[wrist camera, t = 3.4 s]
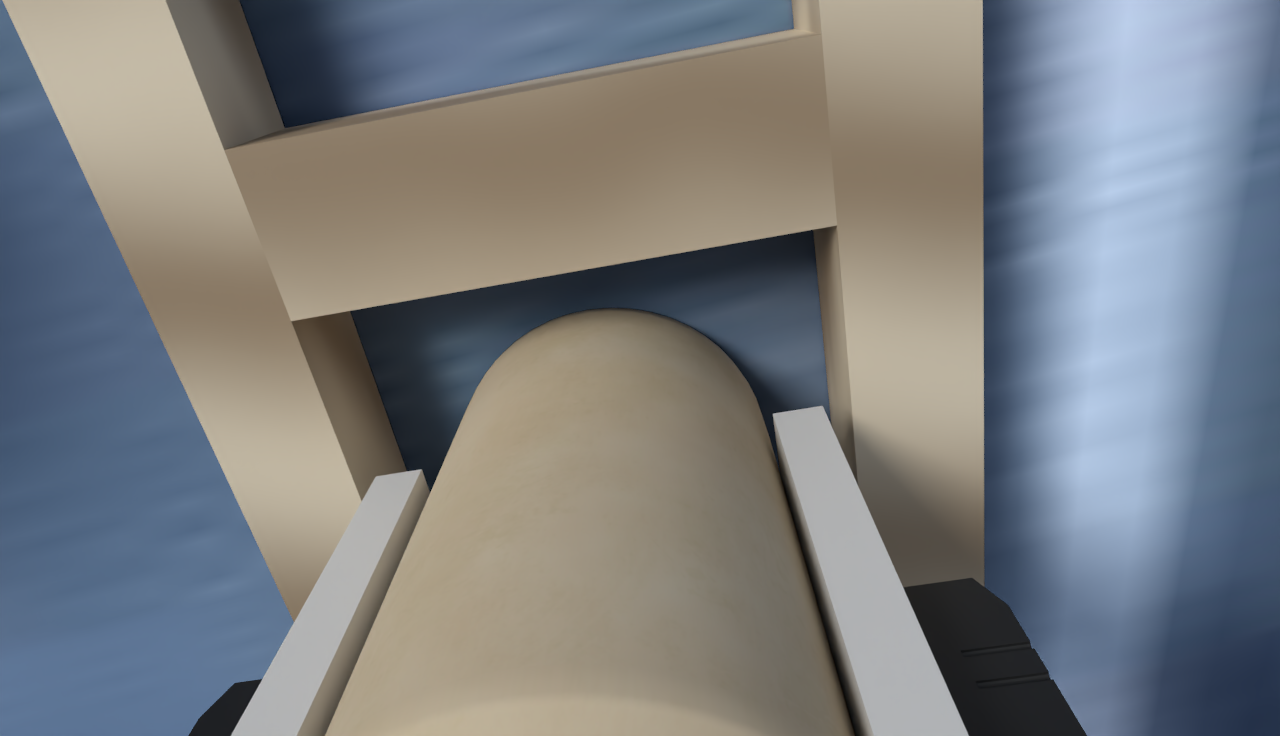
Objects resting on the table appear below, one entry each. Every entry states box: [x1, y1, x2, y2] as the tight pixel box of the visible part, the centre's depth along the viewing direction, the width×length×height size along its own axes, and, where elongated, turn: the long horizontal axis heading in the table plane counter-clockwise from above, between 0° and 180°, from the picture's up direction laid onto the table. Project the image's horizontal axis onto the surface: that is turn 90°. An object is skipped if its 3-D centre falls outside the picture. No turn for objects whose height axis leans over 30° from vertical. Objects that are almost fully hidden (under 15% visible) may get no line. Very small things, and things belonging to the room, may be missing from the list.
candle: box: [325, 308, 856, 736], centre depth 10 cm, size 6×6×10 cm
